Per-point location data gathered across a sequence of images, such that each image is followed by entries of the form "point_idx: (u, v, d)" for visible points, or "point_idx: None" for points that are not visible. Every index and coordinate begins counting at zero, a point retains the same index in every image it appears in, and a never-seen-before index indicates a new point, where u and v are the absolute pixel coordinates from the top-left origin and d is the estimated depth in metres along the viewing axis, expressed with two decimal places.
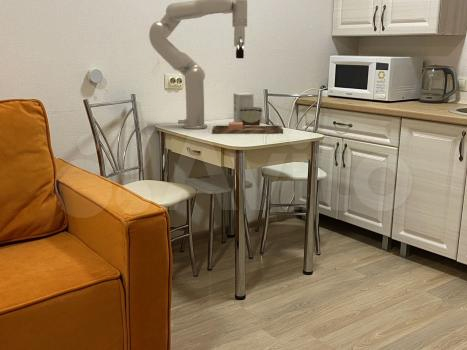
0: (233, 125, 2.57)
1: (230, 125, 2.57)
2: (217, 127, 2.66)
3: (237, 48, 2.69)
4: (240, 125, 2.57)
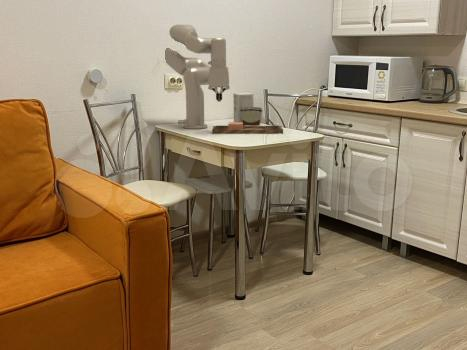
0: (233, 125, 2.57)
1: (230, 125, 2.57)
2: (217, 127, 2.66)
3: None
4: (240, 125, 2.57)
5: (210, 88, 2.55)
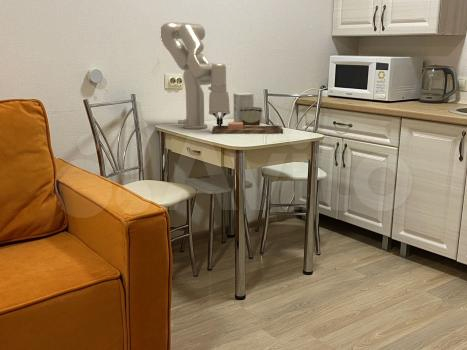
0: (233, 125, 2.57)
1: (230, 125, 2.57)
2: (217, 127, 2.66)
3: None
4: (240, 125, 2.57)
5: (211, 113, 2.58)
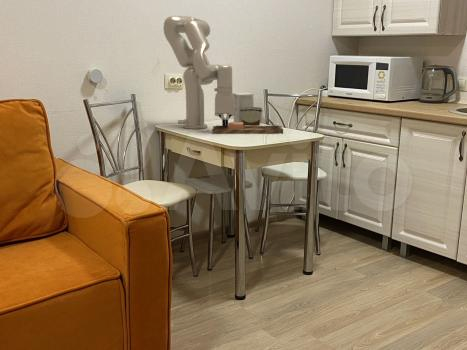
0: (233, 125, 2.57)
1: (230, 125, 2.57)
2: (217, 127, 2.66)
3: None
4: (240, 125, 2.57)
5: (216, 114, 2.59)
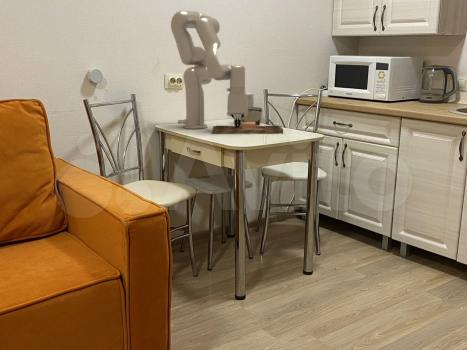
0: (246, 125, 2.58)
1: (243, 125, 2.58)
2: (217, 127, 2.66)
3: None
4: (253, 125, 2.58)
5: (229, 114, 2.59)
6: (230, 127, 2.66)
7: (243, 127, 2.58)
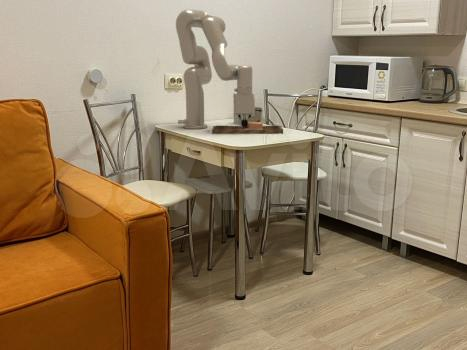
0: (253, 125, 2.58)
1: (250, 125, 2.58)
2: (217, 127, 2.66)
3: None
4: (260, 125, 2.58)
5: (236, 114, 2.59)
6: (230, 127, 2.66)
7: (250, 127, 2.58)
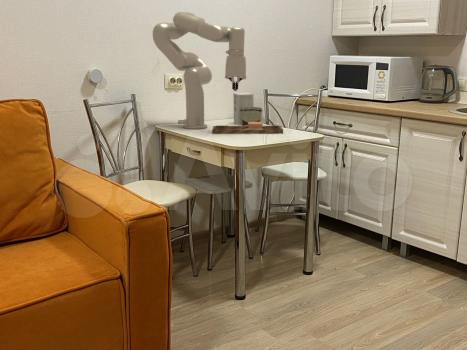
0: (253, 125, 2.58)
1: (250, 125, 2.58)
2: (217, 127, 2.66)
3: None
4: (260, 125, 2.58)
5: (227, 77, 2.57)
6: (230, 127, 2.66)
7: (250, 127, 2.58)
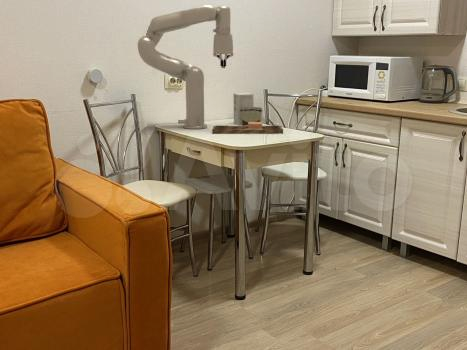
0: (253, 125, 2.58)
1: (250, 125, 2.58)
2: (217, 127, 2.66)
3: None
4: (260, 125, 2.58)
5: (215, 55, 2.67)
6: (230, 127, 2.66)
7: (250, 127, 2.59)
